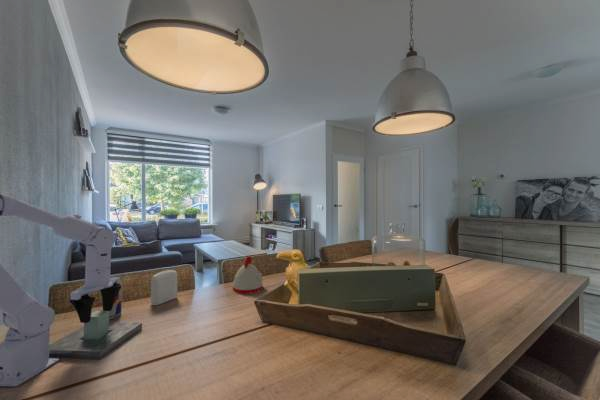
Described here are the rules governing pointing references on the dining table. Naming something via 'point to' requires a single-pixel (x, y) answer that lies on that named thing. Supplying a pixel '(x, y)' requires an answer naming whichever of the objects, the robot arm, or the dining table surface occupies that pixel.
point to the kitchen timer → (247, 278)
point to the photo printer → (163, 287)
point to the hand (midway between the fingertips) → (96, 316)
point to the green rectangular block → (97, 325)
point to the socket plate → (93, 342)
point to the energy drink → (116, 305)
